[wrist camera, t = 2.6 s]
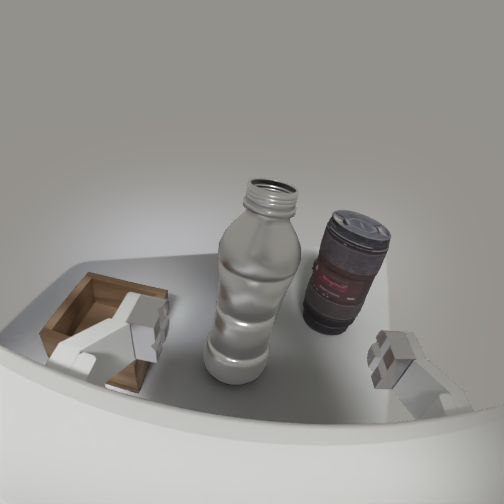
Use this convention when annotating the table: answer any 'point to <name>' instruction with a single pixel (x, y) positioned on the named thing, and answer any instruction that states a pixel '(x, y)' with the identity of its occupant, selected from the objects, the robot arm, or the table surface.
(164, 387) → the table surface
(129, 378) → the open wooden box
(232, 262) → the plastic bottle
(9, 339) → the table surface
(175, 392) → the table surface
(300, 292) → the table surface
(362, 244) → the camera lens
